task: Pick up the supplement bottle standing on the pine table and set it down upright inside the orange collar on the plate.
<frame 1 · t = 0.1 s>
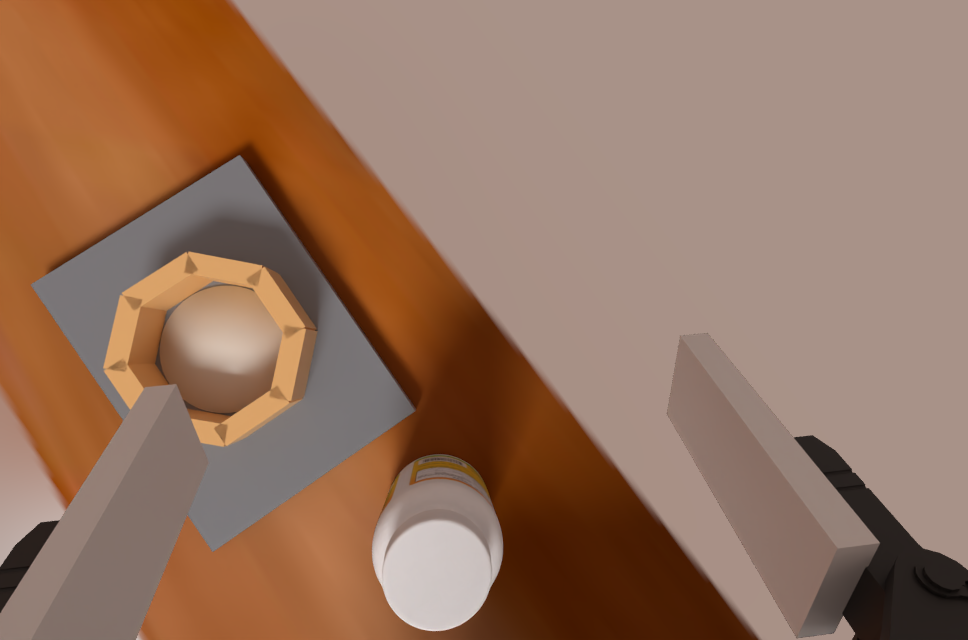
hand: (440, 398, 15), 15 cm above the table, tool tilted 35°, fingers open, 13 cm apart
socket plate: (233, 349, 30), on the table
supplement bottle: (438, 503, 30), on the table
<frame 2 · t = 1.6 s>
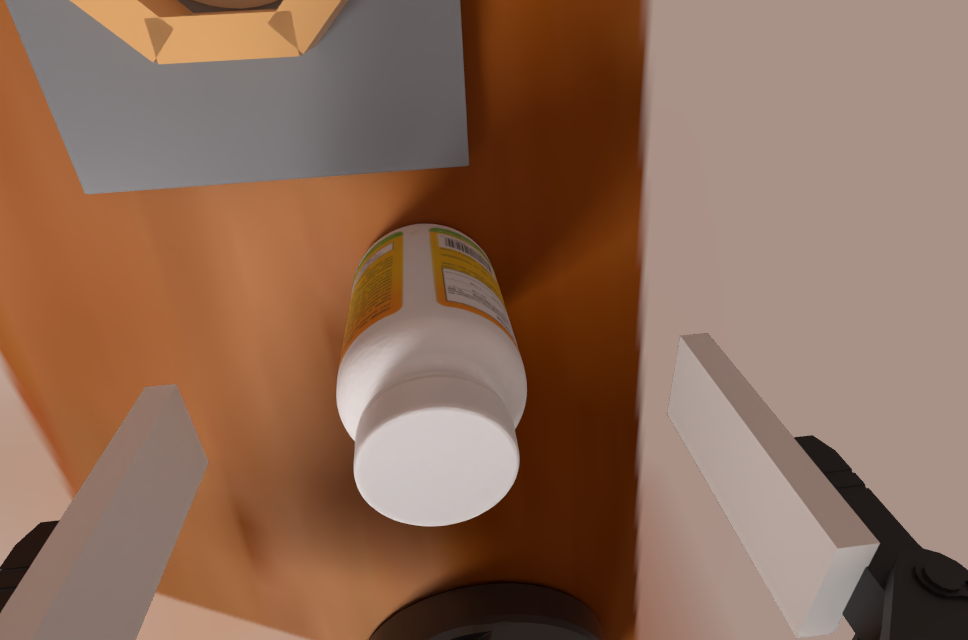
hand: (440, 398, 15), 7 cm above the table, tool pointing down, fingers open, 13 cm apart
supplement bottle: (425, 284, 22), on the table
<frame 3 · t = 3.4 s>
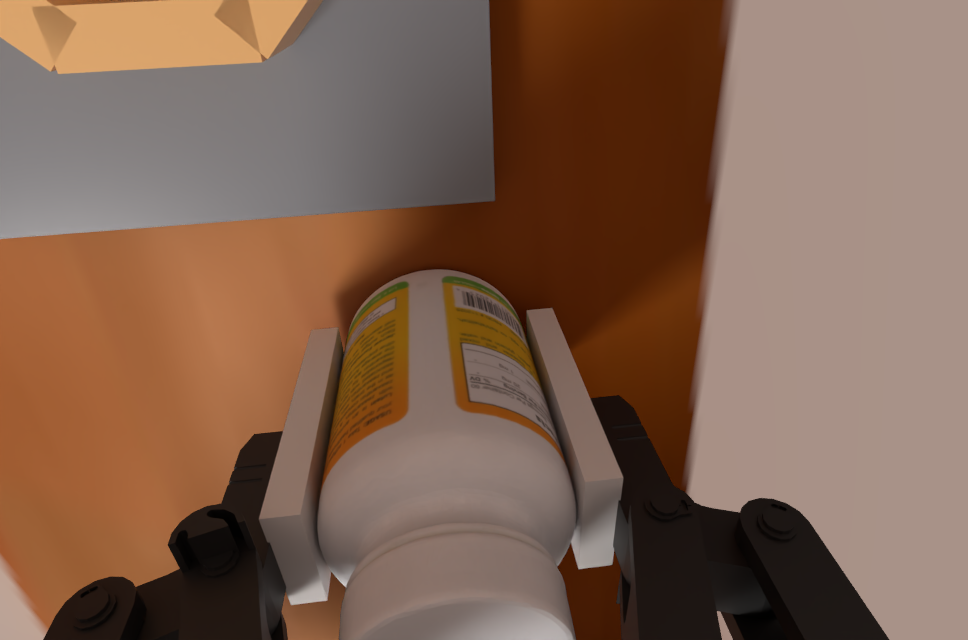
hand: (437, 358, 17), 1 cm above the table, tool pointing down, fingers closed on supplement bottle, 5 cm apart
supplement bottle: (436, 339, 18), on the table, touching gripper
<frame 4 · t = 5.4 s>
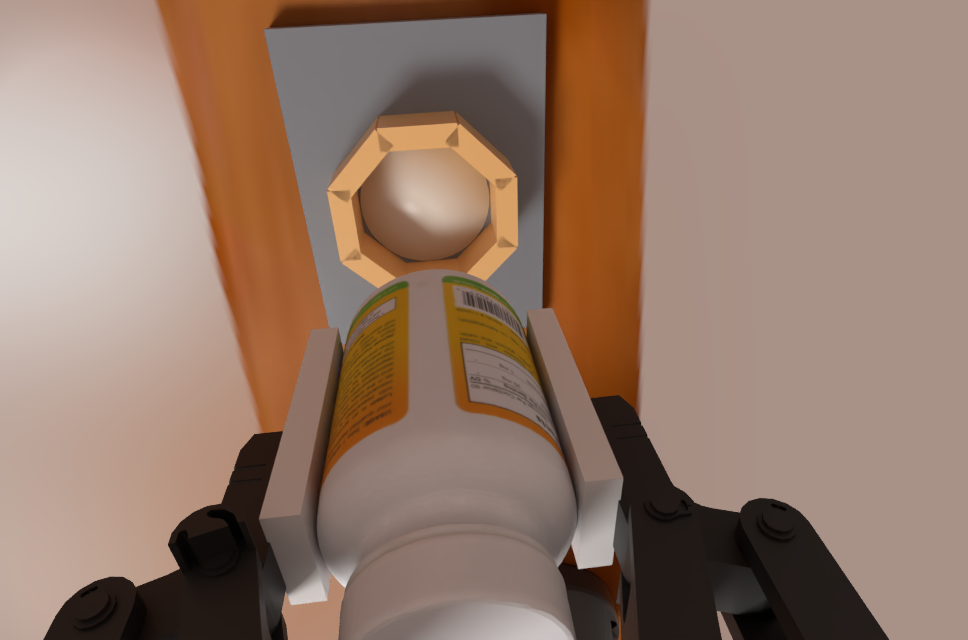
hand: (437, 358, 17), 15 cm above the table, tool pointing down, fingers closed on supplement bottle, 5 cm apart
socket plate: (425, 195, 29), on the table
supplement bottle: (436, 339, 18), point 14 cm above the table, touching gripper
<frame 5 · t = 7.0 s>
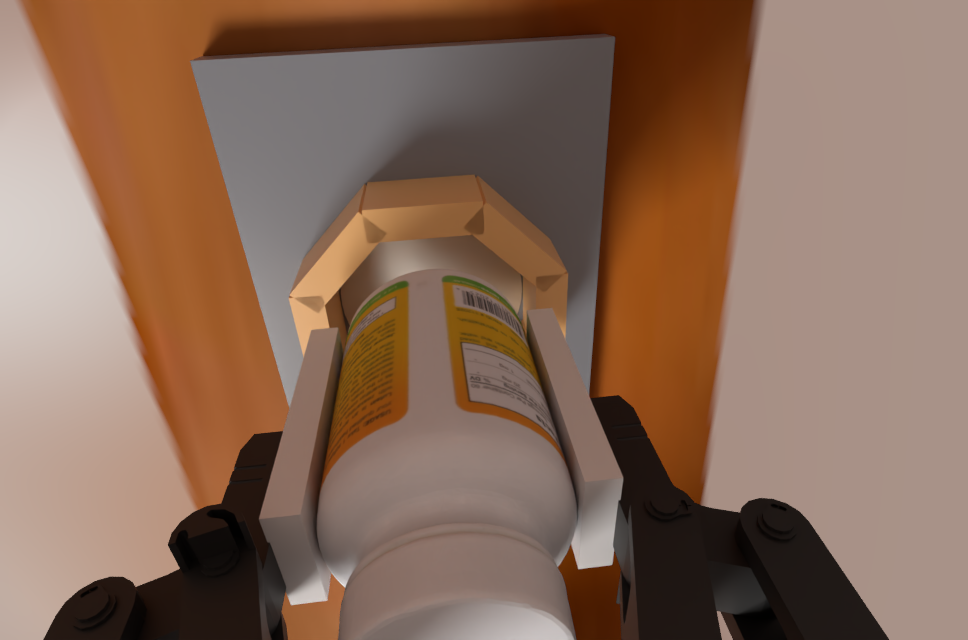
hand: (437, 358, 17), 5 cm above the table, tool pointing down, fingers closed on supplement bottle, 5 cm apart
socket plate: (432, 282, 21), on the table
supplement bottle: (436, 338, 18), point 4 cm above the table, touching gripper
when the fingers open (4 cm above the table, at t = 7.9 s): supplement bottle drops 2 cm, resting on socket plate.
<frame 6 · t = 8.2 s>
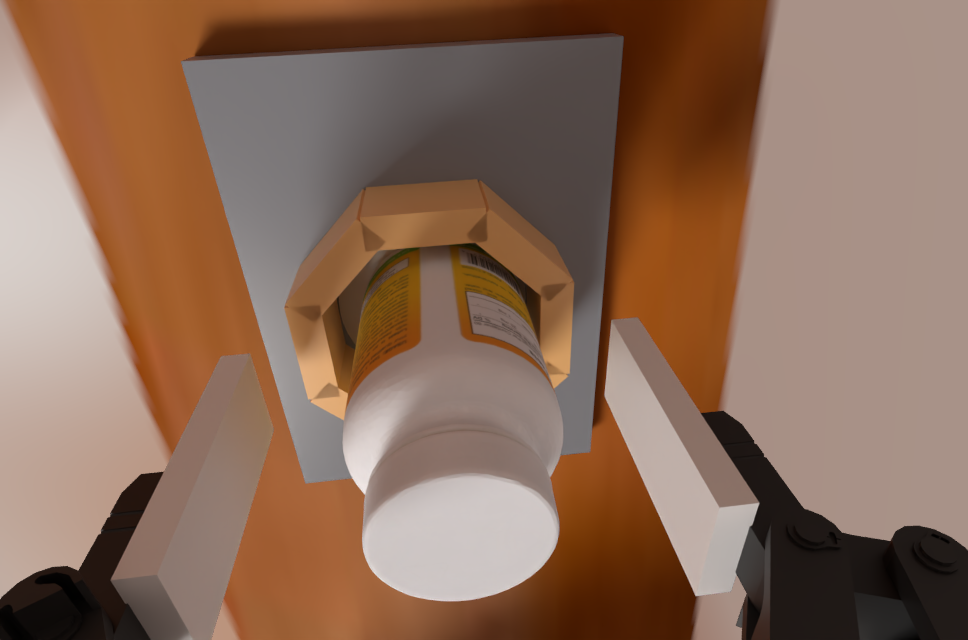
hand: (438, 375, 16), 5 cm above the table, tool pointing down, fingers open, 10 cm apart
socket plate: (433, 289, 20), on the table
supplement bottle: (443, 301, 20), point 1 cm above the table, touching socket plate
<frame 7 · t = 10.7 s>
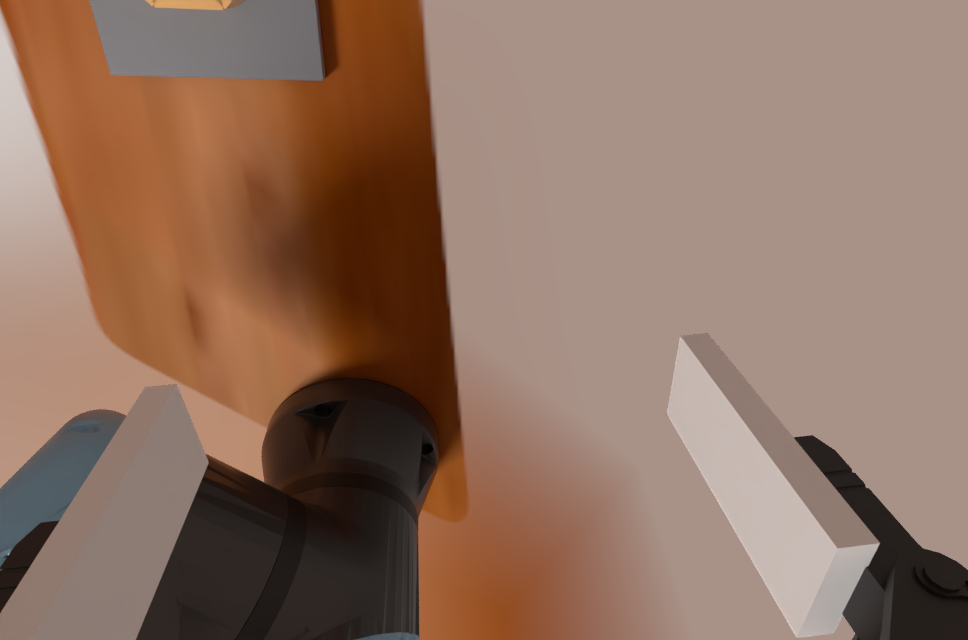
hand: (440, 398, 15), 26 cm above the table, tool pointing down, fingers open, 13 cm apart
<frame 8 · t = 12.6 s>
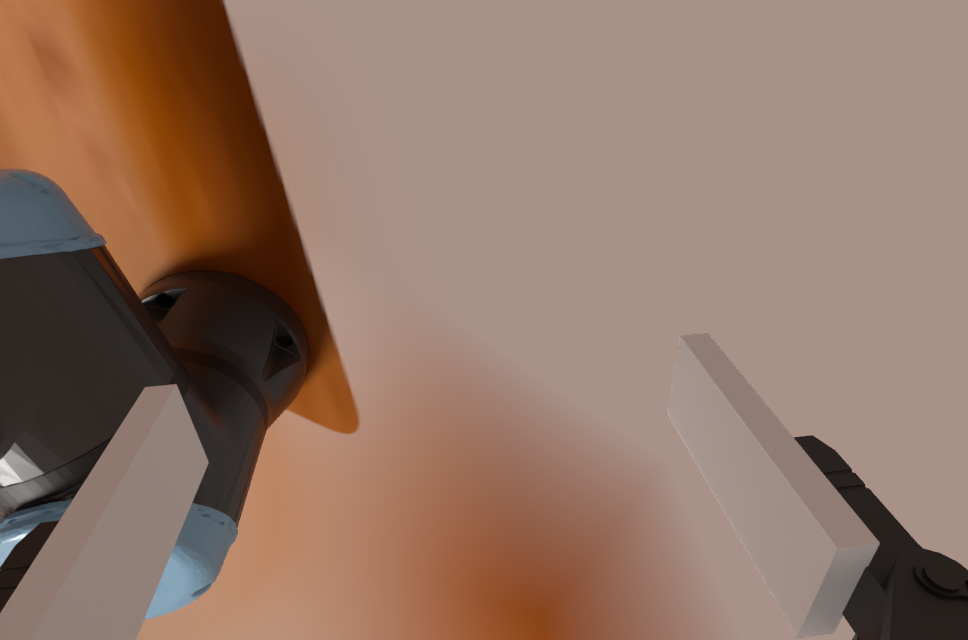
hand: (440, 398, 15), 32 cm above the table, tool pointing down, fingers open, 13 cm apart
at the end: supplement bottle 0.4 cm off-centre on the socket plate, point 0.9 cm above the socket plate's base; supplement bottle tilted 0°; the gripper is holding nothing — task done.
